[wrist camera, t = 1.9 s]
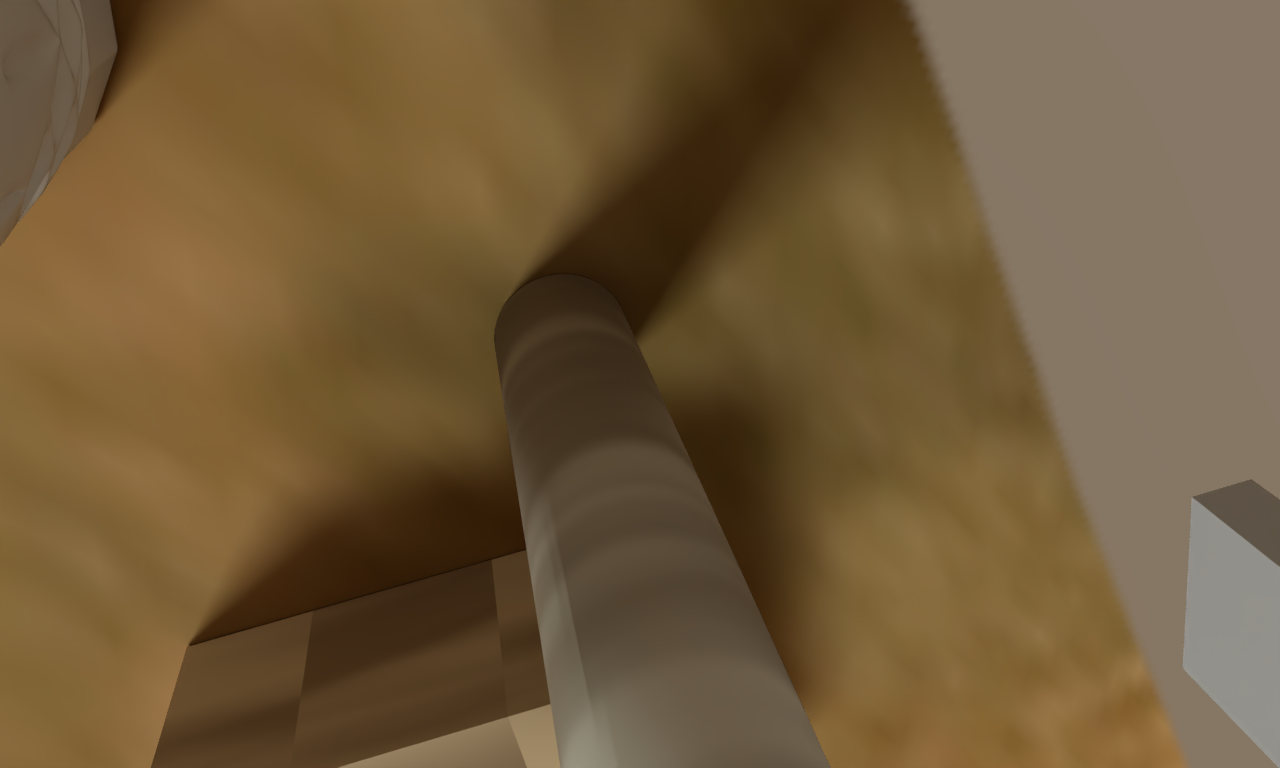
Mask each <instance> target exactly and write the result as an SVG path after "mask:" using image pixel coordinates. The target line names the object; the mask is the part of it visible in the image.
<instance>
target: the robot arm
mask: <svg viewBox="0 0 1280 768" xmlns="http://www.w3.org/2000/svg"><path fill="white" fill-rule="evenodd" d="M1190 526H1191V527H1190V544H1189V564H1188V581H1187V600H1186V617H1185V618H1186V619H1185V636H1184V655H1183V669H1184V670H1185V671H1186V672H1187V673H1188V674H1189V675H1190V676H1191V677H1192V678H1193V679H1194V680H1195V681H1196V682H1197V683H1198V685H1199V686H1200V687H1201V688H1202V689H1203V690H1204V691H1205V692H1206V693H1207V694H1208V695H1209V696H1210V697H1211V698H1212V699H1213V700H1214V701H1215V702H1216V703H1217V704H1218V705H1219V706H1220V707H1221V708H1222V709H1223V710H1224V711H1225V712H1226V713H1227V715H1228V716H1229V717H1230V718H1231V719H1232V720H1233V721H1234V722H1235V723H1236V724H1237V725H1238V726H1239V727H1240V728H1241V729H1242V730H1243V731H1244V732H1245V733H1246V734H1247V735H1248V736H1249V737H1250V738H1251V739H1252V740H1253V741H1254V743H1256V745H1257V746H1258V747H1259V748H1260V749H1261V750H1262V751H1263V752H1264V753H1265V754H1266V755H1267V756H1268V757H1269V758H1270V759H1271V760H1272V761H1273V762H1274V763H1275V764H1276V765H1277V766H1278V767H1279V768H1280V500H1279V499H1278V498H1277V497H1275V496H1274V495H1273V494H1271V493H1269V492H1268V491H1267V490H1266V489H1264V488H1263V487H1261V486H1260V485H1259V484H1257V483H1256V482H1254V481H1253V480H1248V481H1244V482H1241V483H1237V484H1234V485H1231V486H1227V487H1224V488H1221V489H1217V490H1214V491H1210V492H1207V493H1204V494H1200V495H1197V496H1194V497H1192V507H1191V525H1190Z"/></svg>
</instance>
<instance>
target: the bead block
mask: <svg viewBox="0 0 1280 768" xmlns="http://www.w3.org/2000/svg"><path fill="white" fill-rule="evenodd" d="M151 768H561V767H560V761H559V755H558V748H557V742H556V735H555V729H554V723H553V716H552V710H551V703H550V697H549V690H548V684H547V678H546V671H545V665H544V658H543V652H542V646H541V639H540V633H539V626H538V620H537V614H536V607H535V601H534V594H533V588H532V581H531V575H530V569H529V562H528V556H527V550H524V551H520V552H517V553H513V554H510V555H506V556H503V557H499V558H496V559H492V560H489V561H486V562H482V563H479V564H475V565H472V566H468V567H465V568H461V569H458V570H454V571H451V572H447V573H444V574H440V575H437V576H433V577H430V578H426V579H423V580H419V581H416V582H412V583H409V584H405V585H402V586H398V587H395V588H391V589H388V590H384V591H381V592H377V593H374V594H370V595H367V596H363V597H360V598H356V599H353V600H349V601H346V602H342V603H339V604H335V605H332V606H328V607H325V608H322V609H318V610H315V611H311V612H308V613H304V614H301V615H297V616H294V617H290V618H287V619H283V620H280V621H276V622H273V623H269V624H266V625H262V626H259V627H255V628H252V629H248V630H245V631H241V632H238V633H234V634H231V635H227V636H224V637H220V638H217V639H213V640H210V641H206V642H203V643H199V644H196V645H192V646H189V647H187V649H186V652H185V655H184V659H183V662H182V665H181V669H180V672H179V675H178V679H177V682H176V686H175V689H174V692H173V696H172V699H171V702H170V706H169V709H168V712H167V716H166V719H165V722H164V726H163V729H162V733H161V736H160V739H159V743H158V746H157V749H156V753H155V756H154V759H153V763H152V766H151Z"/></svg>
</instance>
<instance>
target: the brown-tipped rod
mask: <svg viewBox="0 0 1280 768" xmlns="http://www.w3.org/2000/svg"><path fill="white" fill-rule="evenodd" d="M494 342H495V351H496V357H497V363H498V370H499V376H500V383H501V389H502V395H503V402H504V408H505V415H506V421H507V428H508V434H509V440H510V447H511V453H512V460H513V466H514V472H515V479H516V485H517V492H518V498H519V505H520V511H521V517H522V524H523V530H524V537H525V543H526V549H527V556H528V562H529V569H530V575H531V581H532V588H533V594H534V601H535V607H536V614H537V620H538V626H539V633H540V639H541V646H542V652H543V658H544V665H545V671H546V678H547V684H548V690H549V697H550V703H551V710H552V716H553V723H554V729H555V735H556V742H557V748H558V755H559V761H560V767H561V768H830V765H829V763H828V761H827V759H826V757H825V754H824V752H823V750H822V748H821V746H820V743H819V741H818V739H817V737H816V735H815V732H814V730H813V728H812V726H811V724H810V722H809V719H808V717H807V715H806V713H805V711H804V708H803V706H802V704H801V702H800V700H799V697H798V695H797V693H796V691H795V689H794V686H793V684H792V682H791V680H790V678H789V675H788V673H787V671H786V669H785V667H784V664H783V662H782V660H781V658H780V656H779V653H778V651H777V649H776V647H775V645H774V642H773V640H772V638H771V636H770V634H769V631H768V629H767V627H766V625H765V623H764V620H763V618H762V616H761V614H760V612H759V609H758V607H757V605H756V603H755V601H754V598H753V596H752V594H751V592H750V590H749V587H748V585H747V583H746V581H745V579H744V576H743V574H742V572H741V570H740V568H739V566H738V563H737V561H736V559H735V557H734V555H733V552H732V550H731V548H730V546H729V544H728V541H727V539H726V537H725V535H724V533H723V530H722V528H721V526H720V524H719V522H718V519H717V517H716V515H715V513H714V511H713V508H712V506H711V504H710V502H709V500H708V497H707V495H706V493H705V491H704V489H703V486H702V484H701V482H700V480H699V478H698V475H697V473H696V471H695V469H694V467H693V464H692V462H691V460H690V458H689V456H688V453H687V451H686V449H685V447H684V445H683V442H682V440H681V438H680V436H679V434H678V431H677V429H676V427H675V425H674V423H673V421H672V418H671V416H670V414H669V412H668V410H667V407H666V405H665V403H664V401H663V399H662V396H661V394H660V392H659V390H658V388H657V385H656V383H655V381H654V379H653V377H652V374H651V372H650V370H649V368H648V366H647V363H646V361H645V359H644V357H643V355H642V352H641V350H640V348H639V346H638V344H637V341H636V339H635V337H634V335H633V333H632V330H631V328H630V326H629V324H628V322H627V319H626V317H625V315H624V313H623V311H622V309H621V307H620V304H619V303H618V302H617V300H616V299H615V297H614V296H613V295H612V294H611V293H610V292H609V291H608V290H607V289H606V288H605V287H603V286H602V285H600V284H599V283H597V282H595V281H593V280H591V279H589V278H585V277H582V276H578V275H572V274H556V275H550V276H545V277H542V278H539V279H536V280H534V281H532V282H530V283H528V284H526V285H525V286H523V287H522V288H520V289H519V290H518V291H517V292H515V293H514V294H513V295H512V296H511V297H510V299H509V300H508V301H507V302H506V304H505V305H504V307H503V308H502V310H501V312H500V314H499V317H498V319H497V322H496V327H495V334H494Z"/></svg>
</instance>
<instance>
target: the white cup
mask: <svg viewBox="0 0 1280 768" xmlns="http://www.w3.org/2000/svg"><path fill="white" fill-rule="evenodd" d="M117 51H118V46H117V40H116V34H115V28H114V23H113V17H112V11H111V5H110V0H0V246H1V245H2V244H3V243H4V241H5V240H6V239H7V237H8V236H9V235H10V233H11V232H12V230H13V229H14V227H15V226H16V225H17V223H18V222H19V221H20V220H21V219H22V218H23V217H24V215H25V214H26V213H27V212H28V211H29V209H30V208H31V207H32V206H33V204H34V203H35V202H36V201H37V200H38V198H39V197H40V196H41V195H42V193H43V192H44V191H45V189H46V187H47V186H48V184H49V182H50V181H51V179H52V178H53V176H54V174H55V173H56V171H57V169H58V168H59V166H60V164H61V163H62V161H63V159H64V158H65V157H66V156H67V155H68V154H69V153H70V152H71V151H72V150H73V149H74V148H75V147H76V146H77V145H78V144H79V143H80V142H81V141H82V140H83V139H84V138H85V137H86V136H87V135H88V133H89V132H90V131H91V129H92V126H93V123H94V120H95V117H96V114H97V111H98V108H99V105H100V102H101V99H102V96H103V93H104V90H105V87H106V84H107V81H108V78H109V75H110V72H111V69H112V66H113V63H114V60H115V57H116V54H117Z"/></svg>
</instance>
